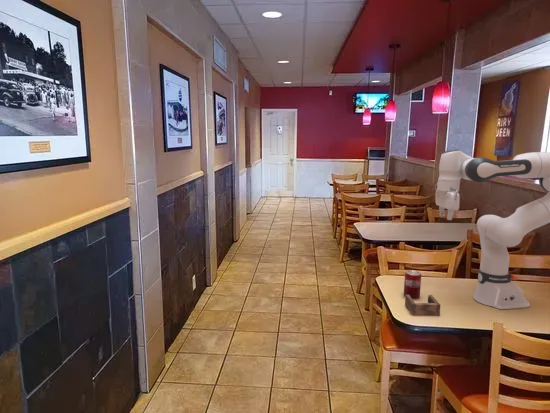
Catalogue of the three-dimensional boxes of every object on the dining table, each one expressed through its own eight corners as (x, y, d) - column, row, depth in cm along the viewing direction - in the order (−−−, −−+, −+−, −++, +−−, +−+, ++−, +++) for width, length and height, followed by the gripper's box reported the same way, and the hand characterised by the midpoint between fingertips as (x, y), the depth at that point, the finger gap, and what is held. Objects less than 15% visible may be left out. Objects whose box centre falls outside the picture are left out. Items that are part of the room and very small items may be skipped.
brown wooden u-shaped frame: (430, 305, 171) (431, 294, 170) (439, 315, 161) (440, 304, 160) (404, 304, 171) (405, 294, 170) (411, 315, 161) (412, 304, 161)
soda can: (421, 300, 176) (422, 276, 173) (404, 299, 177) (406, 274, 175) (418, 294, 183) (420, 270, 180) (402, 293, 184) (404, 269, 182)
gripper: (465, 189, 157) (461, 222, 159) (447, 185, 177) (445, 214, 179) (449, 188, 157) (446, 221, 159) (433, 185, 178) (431, 214, 179)
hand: (445, 218), depth 169 cm, fingers open, 8 cm apart
